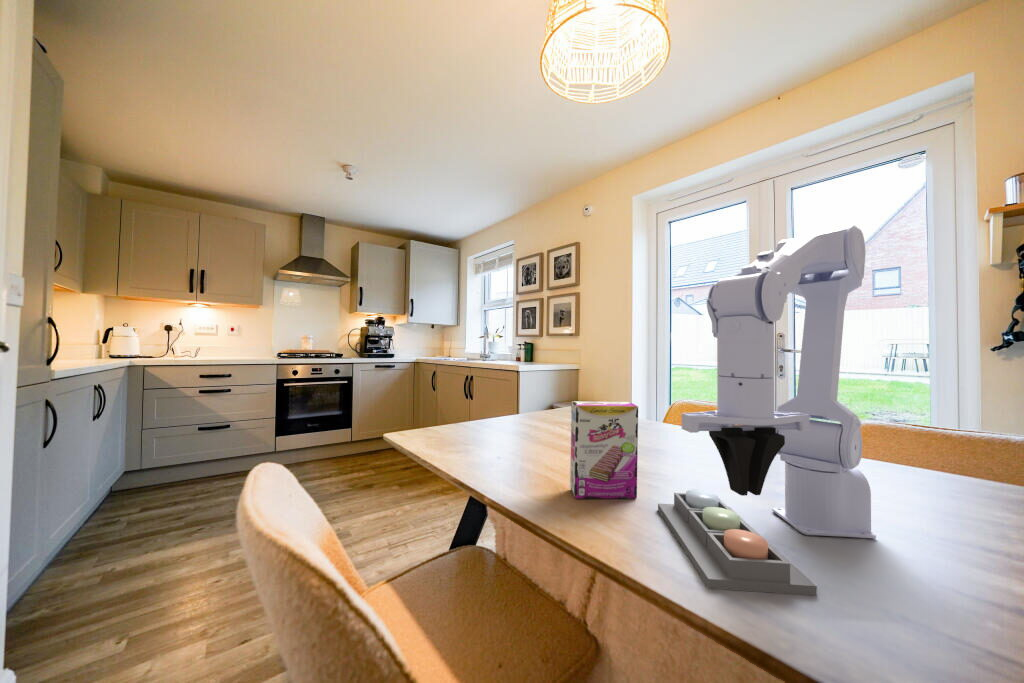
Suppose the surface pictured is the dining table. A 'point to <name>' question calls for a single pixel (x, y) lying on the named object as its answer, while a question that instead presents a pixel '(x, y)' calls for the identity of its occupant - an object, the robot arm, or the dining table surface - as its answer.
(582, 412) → the candy bar box
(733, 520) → the sage button
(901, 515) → the dining table surface
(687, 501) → the pale blue button
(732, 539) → the terracotta button
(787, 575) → the button panel
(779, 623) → the dining table surface
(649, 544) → the dining table surface
